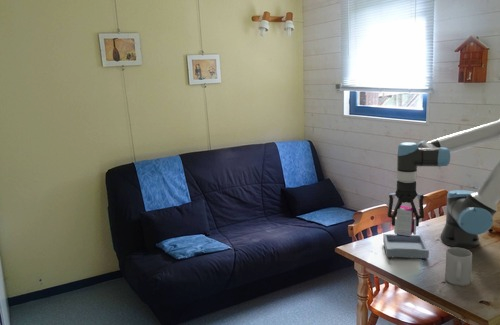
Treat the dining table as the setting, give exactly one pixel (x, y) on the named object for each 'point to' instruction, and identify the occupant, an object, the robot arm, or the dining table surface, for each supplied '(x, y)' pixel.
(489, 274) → the dining table surface
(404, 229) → the supplement box
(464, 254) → the mug
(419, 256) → the grey tray
